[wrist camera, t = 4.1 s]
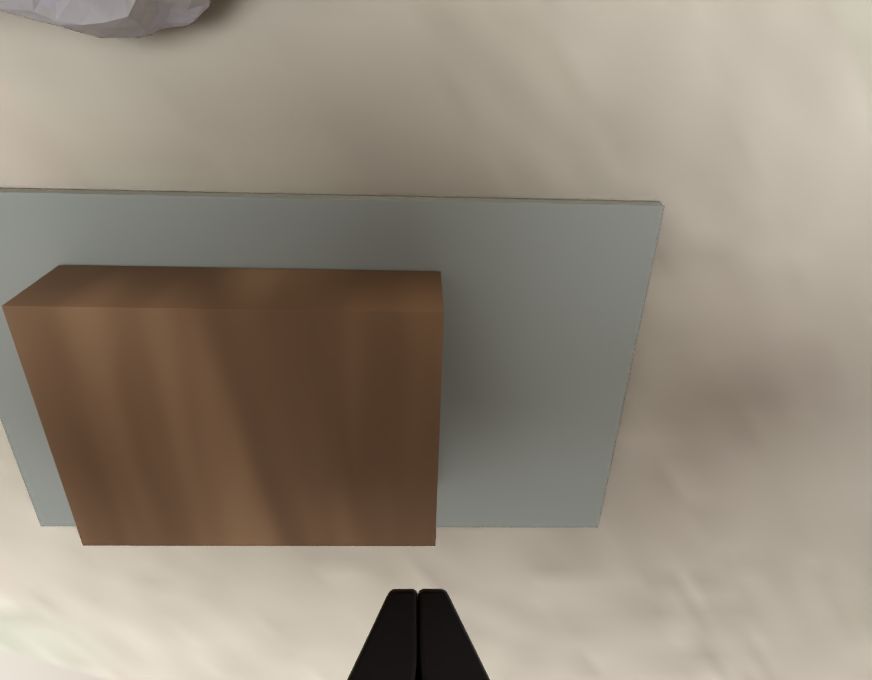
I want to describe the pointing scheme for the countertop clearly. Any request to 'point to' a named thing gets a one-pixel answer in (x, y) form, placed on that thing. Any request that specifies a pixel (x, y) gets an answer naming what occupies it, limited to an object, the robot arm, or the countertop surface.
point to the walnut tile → (238, 402)
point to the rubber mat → (462, 332)
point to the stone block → (110, 15)
